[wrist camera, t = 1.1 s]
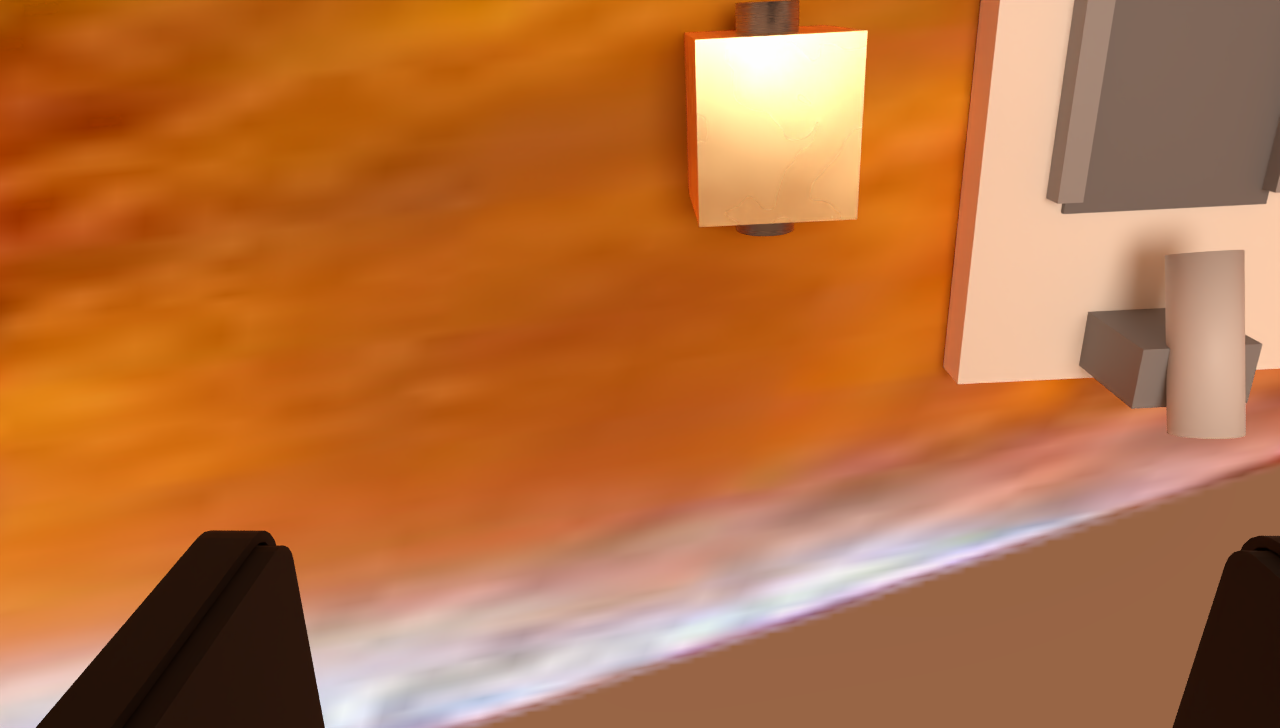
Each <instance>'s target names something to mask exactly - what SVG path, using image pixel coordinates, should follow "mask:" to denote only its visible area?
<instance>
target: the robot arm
mask: <svg viewBox="0 0 1280 728" xmlns="http://www.w3.org/2000/svg"><path fill="white" fill-rule="evenodd" d="M36 728H325V726H324V721H323V716H322V710H321V705H320V700H319V694H318V689H317V684H316V678H315V673H314V667H313V662H312V657H311V651H310V646H309V641H308V635H307V630H306V625H305V619H304V614H303V608H302V603H301V598H300V592H299V587H298V582H297V576H296V571H295V566H294V560H293V557H292V553H291V551H290V550H289V548H288V547H286V546H276V543H275V540H274V539H273V537H272V536H271V534H270V533H268V532H266V531H207V532H204V533H203V534H202V535H200V536H199V537H198V538H197V539H196V540H195V542H194V543H193V544H192V545H191V546H190V547H189V549H188V550H187V551H186V552H185V553H184V554H183V556H182V557H181V558H180V559H179V560H178V561H177V563H176V564H175V565H174V566H173V567H172V568H171V570H170V571H169V572H168V573H167V574H166V576H165V577H164V578H163V579H162V580H161V581H160V583H159V584H158V585H157V586H156V587H155V588H154V590H153V591H152V592H151V593H150V594H149V595H148V597H147V598H146V599H145V600H144V601H143V602H142V604H141V605H140V606H139V607H138V608H137V610H136V611H135V612H134V613H133V614H132V615H131V617H130V618H129V619H128V620H127V621H126V622H125V624H124V625H123V626H122V627H121V628H120V629H119V631H118V632H117V633H116V634H115V635H114V636H113V638H112V639H111V640H110V641H109V642H108V644H107V645H106V646H105V647H104V648H103V649H102V651H101V652H100V653H99V654H98V655H97V656H96V658H95V659H94V660H93V661H92V662H91V663H90V665H89V666H88V667H87V668H86V669H85V670H84V672H83V673H82V674H81V675H80V676H79V678H78V679H77V680H76V681H75V682H74V683H73V685H72V686H71V687H70V688H69V689H68V690H67V692H66V693H65V694H64V695H63V696H62V697H61V699H60V700H59V701H58V702H57V703H56V705H55V706H54V707H53V708H52V709H51V710H50V712H49V713H48V714H47V715H46V716H45V717H44V719H43V720H42V721H41V722H40V723H39V724H38V726H37V727H36ZM1173 728H1280V536H1257V537H1254V538H1251V539H1249V540H1248V541H1247V542H1246V543H1245V544H1244V545H1243V547H1242V549H1241V551H1237V552H1234V553H1233V554H1232V555H1231V556H1230V557H1229V558H1228V560H1227V562H1226V564H1225V567H1224V570H1223V573H1222V576H1221V580H1220V583H1219V586H1218V588H1217V592H1216V595H1215V598H1214V601H1213V604H1212V607H1211V610H1210V613H1209V616H1208V620H1207V623H1206V626H1205V629H1204V632H1203V635H1202V638H1201V641H1200V644H1199V648H1198V651H1197V654H1196V657H1195V660H1194V663H1193V666H1192V669H1191V672H1190V675H1189V678H1188V681H1187V685H1186V688H1185V691H1184V694H1183V697H1182V700H1181V703H1180V706H1179V709H1178V713H1177V716H1176V719H1175V722H1174V725H1173Z"/></svg>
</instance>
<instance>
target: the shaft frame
mask: <svg viewBox="0 0 1280 728" xmlns="http://www.w3.org/2000/svg"><path fill="white" fill-rule="evenodd" d="M943 368H944V369H945V370H946V371H947V372H948V373H949V375H950V376H951V377H952V378H953V379H954V380H955V382H956V383H957V384H970V383H990V382H1011V381H1031V380H1052V379H1072V378H1093V377H1094V378H1095V379H1096V380H1097V381H1099V382H1100V383H1101V384H1102V385H1104V386H1105V387H1106V388H1107V389H1108V390H1110V391H1111V392H1112V393H1113V394H1115V395H1116V396H1117V397H1118V398H1119V399H1121V400H1122V401H1123V402H1124V403H1126V404H1127V405H1128V406H1129V407H1130V408H1132V409H1133V408H1153V407H1167V433H1168V434H1170V435H1174V436H1179V437H1188V438H1202V439H1229V438H1240V437H1244V436H1246V403H1247V401H1248V397H1249V394H1250V390H1251V386H1252V382H1253V378H1254V375H1255V371H1256V370H1258V369H1278V368H1280V0H981V3H980V13H979V22H978V32H977V42H976V52H975V61H974V71H973V81H972V91H971V100H970V110H969V120H968V130H967V139H966V149H965V159H964V169H963V178H962V188H961V198H960V208H959V217H958V227H957V237H956V247H955V256H954V266H953V276H952V286H951V295H950V305H949V315H948V325H947V334H946V344H945V354H944V364H943Z"/></svg>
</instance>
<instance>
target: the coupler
mask: <svg viewBox="0 0 1280 728" xmlns="http://www.w3.org/2000/svg"><path fill="white" fill-rule="evenodd" d="M684 42H685V80H686V118H687V156H688V191H689V195H690V198H691V201H692V205H693V208H694V211H695V215H696V218H697V222H698V225H699V227H712V226H731V225H736V230H737V231H738V232H740V233H742V234H746V235H752V236H775V235H782V234H786V233H789V232H791V231H793V230H794V222H810V221H830V220H850V219H857V212H858V193H859V175H860V156H861V138H862V119H863V101H864V83H865V64H866V46H867V31H866V30H859V29H852V28H845V27H837V26H830V25H819V26H800V27H799V0H782V1H762V2H745V3H736V30H725V31H706V32H687V33H684Z"/></svg>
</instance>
